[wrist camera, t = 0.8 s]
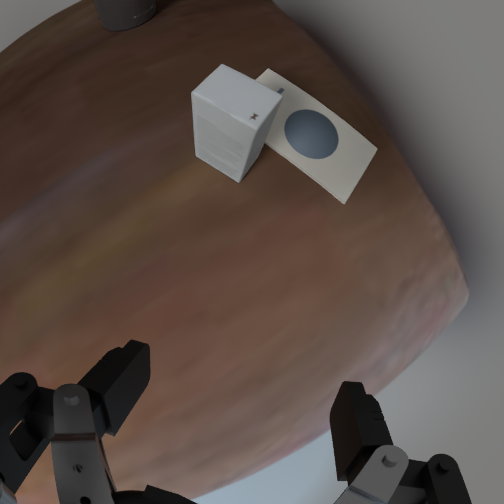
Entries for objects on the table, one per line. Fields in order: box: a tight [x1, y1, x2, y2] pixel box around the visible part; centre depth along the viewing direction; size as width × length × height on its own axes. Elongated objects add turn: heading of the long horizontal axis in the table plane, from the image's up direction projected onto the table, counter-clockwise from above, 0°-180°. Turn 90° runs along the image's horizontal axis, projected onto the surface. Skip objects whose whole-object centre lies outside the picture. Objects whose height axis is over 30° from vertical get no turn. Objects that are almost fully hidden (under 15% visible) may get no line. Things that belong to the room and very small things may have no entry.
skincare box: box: [191, 64, 283, 183], centre depth 25 cm, size 6×4×12 cm
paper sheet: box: [255, 68, 377, 204], centre depth 33 cm, size 18×10×1 cm, turn 54°
